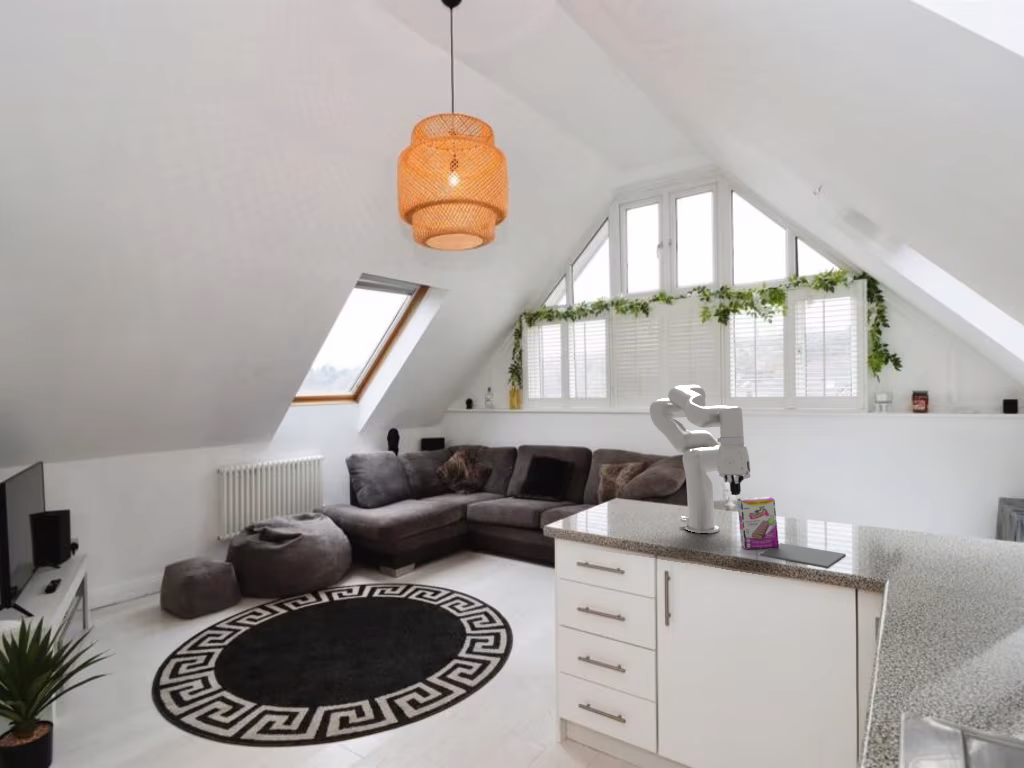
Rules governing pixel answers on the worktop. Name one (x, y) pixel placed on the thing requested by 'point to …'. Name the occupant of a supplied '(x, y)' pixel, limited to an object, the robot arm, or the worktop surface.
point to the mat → (804, 555)
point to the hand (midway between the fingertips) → (735, 494)
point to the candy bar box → (757, 523)
